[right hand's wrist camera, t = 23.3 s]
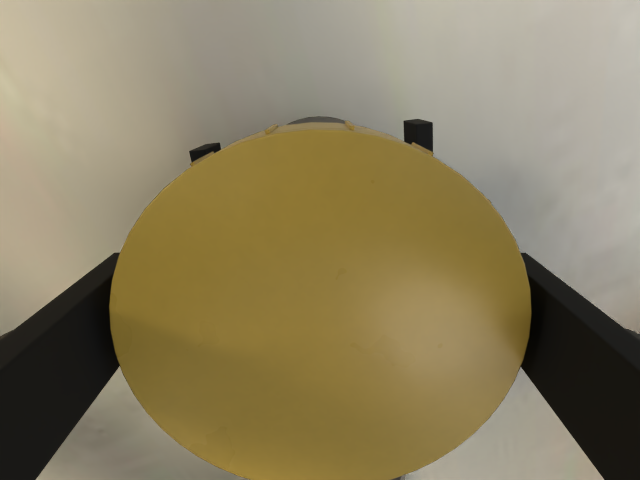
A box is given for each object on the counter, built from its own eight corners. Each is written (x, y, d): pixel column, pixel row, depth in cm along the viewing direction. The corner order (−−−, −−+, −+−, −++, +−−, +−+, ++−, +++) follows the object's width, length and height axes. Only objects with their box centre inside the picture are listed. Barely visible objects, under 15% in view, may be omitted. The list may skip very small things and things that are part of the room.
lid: (104, 360, 13) (60, 415, 11) (229, 39, 10) (201, 22, 7) (378, 466, 15) (389, 532, 13) (567, 228, 11) (628, 261, 9)
